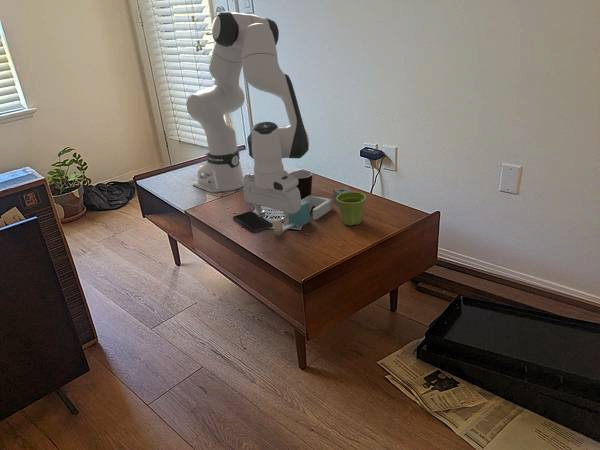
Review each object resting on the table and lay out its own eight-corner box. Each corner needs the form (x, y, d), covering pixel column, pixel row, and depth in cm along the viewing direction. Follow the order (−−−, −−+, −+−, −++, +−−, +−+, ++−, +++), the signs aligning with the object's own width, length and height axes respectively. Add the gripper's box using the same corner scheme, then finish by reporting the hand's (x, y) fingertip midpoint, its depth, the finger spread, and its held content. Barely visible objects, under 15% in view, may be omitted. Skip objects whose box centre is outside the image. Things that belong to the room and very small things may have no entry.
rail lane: (293, 214, 166) (292, 204, 165) (310, 204, 174) (309, 194, 172) (316, 219, 161) (315, 209, 160) (332, 208, 168) (332, 199, 167)
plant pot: (358, 230, 152) (358, 204, 148) (332, 225, 157) (331, 200, 153) (371, 218, 159) (371, 194, 155) (345, 214, 164) (344, 190, 160)
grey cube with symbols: (333, 202, 174) (333, 189, 172) (346, 199, 175) (345, 186, 173) (340, 207, 169) (339, 193, 167) (352, 204, 171) (352, 191, 169)
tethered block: (269, 233, 154) (267, 213, 151) (299, 218, 163) (297, 198, 160) (281, 237, 151) (279, 216, 148) (310, 221, 160) (309, 201, 157)
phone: (253, 231, 155) (231, 216, 166) (253, 234, 155) (232, 219, 167) (274, 224, 159) (251, 210, 170) (274, 227, 159) (252, 213, 170)
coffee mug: (311, 205, 173) (310, 178, 168) (288, 204, 174) (285, 178, 170) (317, 192, 183) (315, 167, 179) (294, 192, 185) (292, 167, 180)
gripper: (236, 175, 149) (241, 216, 155) (289, 187, 137) (292, 231, 143) (250, 169, 153) (254, 209, 159) (302, 180, 142) (305, 223, 148)
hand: (273, 219), depth 151 cm, fingers open, 8 cm apart
